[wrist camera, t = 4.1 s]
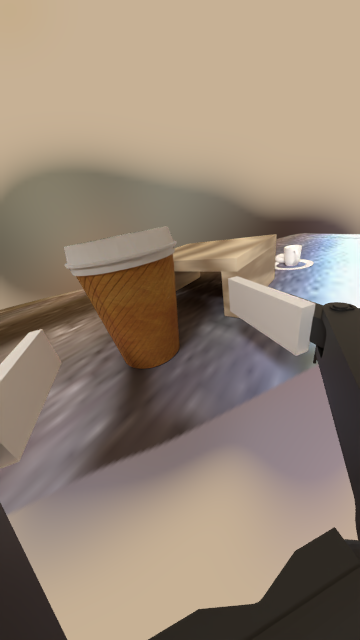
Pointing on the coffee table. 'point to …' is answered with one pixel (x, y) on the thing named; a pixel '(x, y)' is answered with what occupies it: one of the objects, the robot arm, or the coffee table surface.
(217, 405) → the coffee table surface
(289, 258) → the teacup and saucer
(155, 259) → the disposable coffee cup
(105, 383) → the coffee table surface
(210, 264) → the maple shelf
